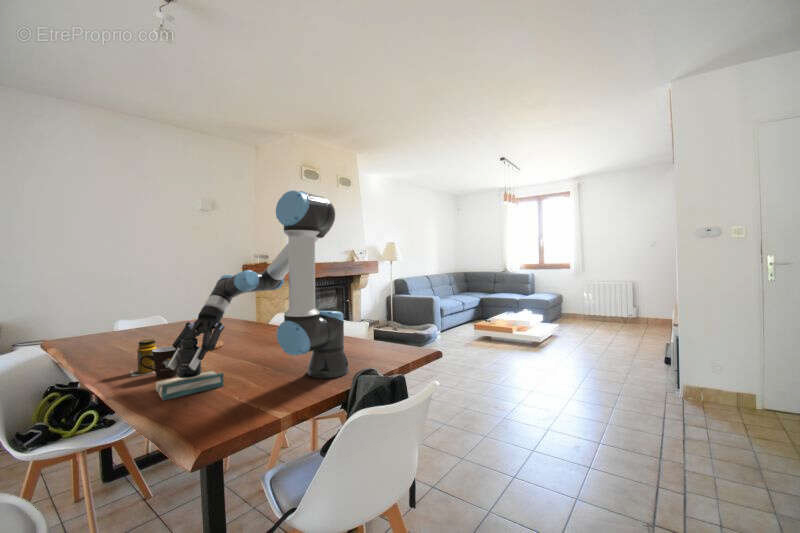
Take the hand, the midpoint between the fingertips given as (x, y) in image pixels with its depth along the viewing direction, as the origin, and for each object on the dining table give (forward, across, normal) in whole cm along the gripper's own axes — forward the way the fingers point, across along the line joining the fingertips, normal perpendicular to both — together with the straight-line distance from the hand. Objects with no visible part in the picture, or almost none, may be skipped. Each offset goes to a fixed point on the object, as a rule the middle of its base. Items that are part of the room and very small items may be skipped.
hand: (181, 367), depth 112 cm
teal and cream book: (+3, 0, -8) cm, 8 cm away
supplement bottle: (0, 0, -5) cm, 5 cm away
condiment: (-7, +30, -18) cm, 36 cm away
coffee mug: (-4, +19, -15) cm, 25 cm away
